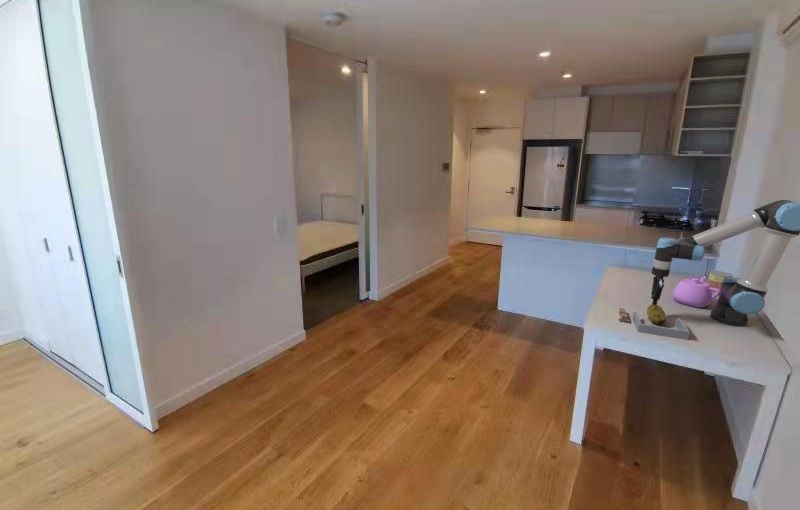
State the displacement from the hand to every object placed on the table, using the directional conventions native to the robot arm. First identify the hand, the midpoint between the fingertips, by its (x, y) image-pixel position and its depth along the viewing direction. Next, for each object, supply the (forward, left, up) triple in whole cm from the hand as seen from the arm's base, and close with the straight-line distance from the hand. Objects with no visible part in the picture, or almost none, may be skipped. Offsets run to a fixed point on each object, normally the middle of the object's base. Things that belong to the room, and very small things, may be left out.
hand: (652, 309), depth 201 cm
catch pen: (0, +17, -4) cm, 17 cm away
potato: (0, +8, -4) cm, 9 cm away
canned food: (-46, -61, -4) cm, 77 cm away
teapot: (-25, -31, -4) cm, 40 cm away
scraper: (+14, +8, -4) cm, 17 cm away
